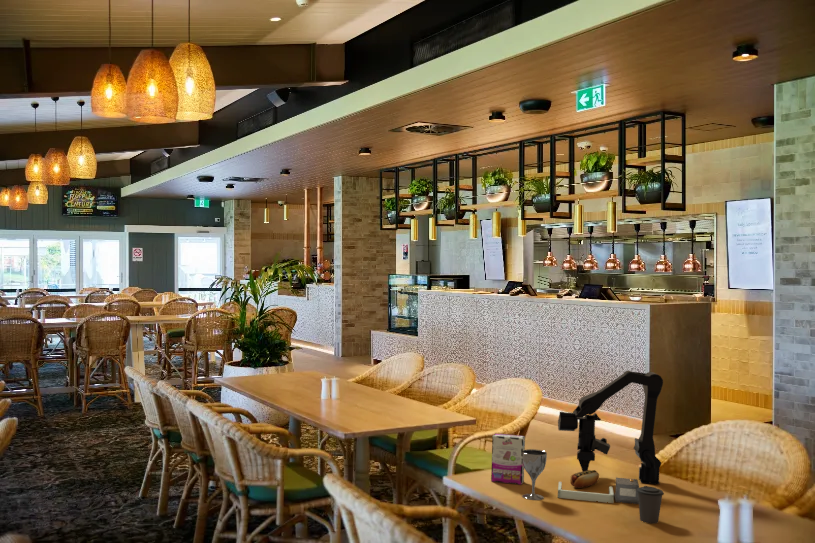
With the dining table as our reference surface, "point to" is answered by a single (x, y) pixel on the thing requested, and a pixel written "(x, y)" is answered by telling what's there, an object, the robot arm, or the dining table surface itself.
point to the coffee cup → (649, 503)
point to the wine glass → (534, 468)
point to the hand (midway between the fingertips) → (585, 474)
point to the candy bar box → (507, 459)
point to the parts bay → (586, 495)
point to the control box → (626, 490)
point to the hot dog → (584, 478)
